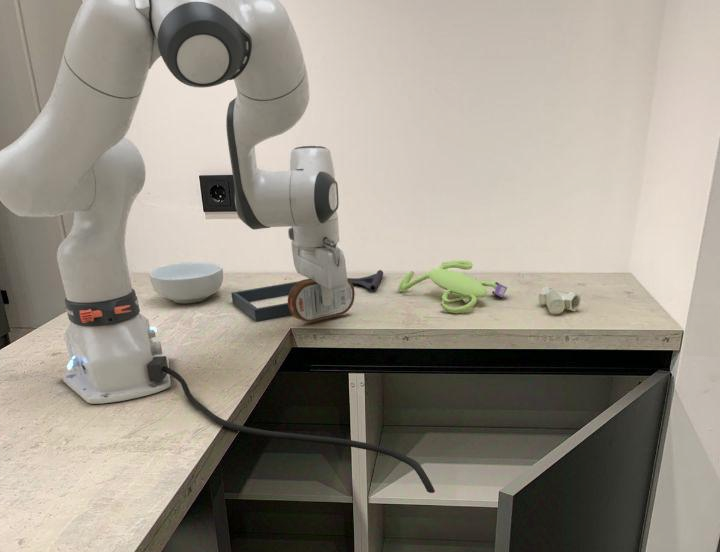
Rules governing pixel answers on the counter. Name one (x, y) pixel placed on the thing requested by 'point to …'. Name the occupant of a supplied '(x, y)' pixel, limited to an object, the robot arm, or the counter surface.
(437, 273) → the figurine
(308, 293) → the tin
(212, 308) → the counter surface
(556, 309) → the pipe fitting
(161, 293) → the cereal bowl
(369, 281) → the bracket
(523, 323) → the counter surface
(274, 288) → the tray
